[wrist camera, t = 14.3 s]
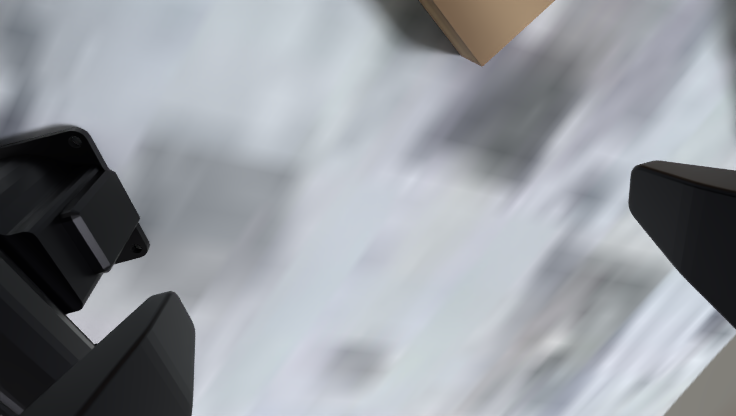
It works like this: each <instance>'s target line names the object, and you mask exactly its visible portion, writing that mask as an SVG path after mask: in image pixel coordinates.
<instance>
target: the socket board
mask: <svg viewBox="0 0 736 416" xmlns="http://www.w3.org/2000/svg"><path fill="white" fill-rule="evenodd" d="M419 1H420V3H421V4H422V5H423V6H424V8H425V9H426V10H427V12H428V13H429V14H430V16H431V17H432V18H433V20H434V21H435V22H436V24H437V25H438V26H439V27H440V29H441V30H442V31H443V33H444V34H445V35H446V37H447V38H448V39H449V41H450V42H451V43H452V45H453V46H454V47H455V48H456V50H457V51H458V52H459V54H460V55H461V56H462V57H464V58H466V59H468V60H470V61H472V62H474V63H476V64H478V65H480V66H484V65H485V64H486V63H487V62H488V61H489V60H490V59H491V58H492V57H493V56H495V55H496V54H497V53H498V52H499V51H500V50H501V49H502V48H503V47H504V46H505V45H507V44H508V43H509V42H510V41H511V40H512V39H513V38H514V37H515V36H516V35H518V34H519V33H520V32H521V31H522V30H523V29H524V28H525V27H526V26H527V25H529V24H530V23H531V22H532V21H533V20H534V19H535V18H536V17H537V16H538V15H540V14H541V13H542V12H543V11H544V10H545V9H546V8H547V7H548V6H549V5H551V4H552V3H553V2H554V1H555V0H419Z"/></svg>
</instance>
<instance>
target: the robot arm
mask: <svg viewBox="0 0 736 416" xmlns="http://www.w3.org/2000/svg"><path fill="white" fill-rule="evenodd" d="M72 136H76V137H78V138H79V139H80V140H81V141H82V145H78V144H76V143H75V142H74V141H73V139H72ZM629 209H630V211H631V213H632V215H633V216H634V218H635V219H636V220H637V221H638V223H639V224H640V225H641V226H642V228H643V229H644V230H645V231H646V233H647V234H648V235H649V236H650V237H651V239H652V240H653V241H654V242H655V244H656V245H657V246H658V247H659V249H660V250H661V251H662V252H663V253H664V255H665V256H666V257H667V258H668V260H669V261H670V262H671V263H672V264H673V266H674V267H675V268H676V269H677V270H678V271H679V273H680V274H681V275H682V276H683V277H684V278H685V279H686V280H687V281H688V282H689V283H690V284H691V285H692V286H693V287H694V288H695V289H696V290H697V291H698V292H699V293H700V294H701V295H702V296H703V297H704V298H705V299H706V300H707V301H708V302H709V303H710V304H711V305H712V306H713V307H714V308H715V309H716V310H717V311H718V312H719V313H720V314H721V315H722V316H723V317H724V318H725V319H726V320H727V321H728V322H729V323H730V324H731V325H732V326H733V327H734V328H735V329H736V171H735V170H727V169H719V168H712V167H704V166H697V165H689V164H681V163H674V162H666V161H657V160H656V161H651V162H647V163H643V164H640V165H637V166H635V167H634V168H633V170H632V172H631V179H630V190H629ZM139 219H140V217H139V215H138V213H137V211H136V209H135V208H134V206H133V204H132V202H131V200H130V198H129V197H128V195H127V193H126V191H125V189H124V187H123V186H122V184H121V182H120V180H119V178H118V176H117V175H116V173H115V172H114V171H112V170H110V169H109V168H108V167H107V165H106V163H105V161H104V159H103V157H102V156H101V154H100V152H99V150H98V148H97V147H96V145H95V143H94V141H93V139H92V137H91V136H90V135H89V133H88V132H87V131H85V130H84V129H81V128H71V129H67V130H63V131H59V132H55V133H51V134H47V135H43V136H39V137H35V138H31V139H28V140H24V141H20V142H16V143H12V144H8V145H4V146H0V416H191V415H192V406H193V387H194V359H195V328H194V324H193V322H192V320H191V318H190V316H189V314H188V313H187V311H186V309H185V307H184V305H183V304H182V302H181V300H180V298H179V297H178V295H177V294H176V293H175V292H172V291H168V292H164V293H161V294H157V295H153V296H151V297H149V298H148V299H147V300H146V301H145V302H144V303H143V304H141V305H140V306H139V307H138V308H137V309H136V310H135V311H134V312H133V313H131V314H130V315H129V316H128V317H127V318H126V319H125V320H124V321H123V322H122V323H120V324H119V325H118V326H117V327H116V328H115V329H114V330H113V331H112V332H110V333H109V334H108V335H107V336H106V337H105V338H104V339H103V340H102V341H100V342H99V343H98V344H93V343H92V341H91V340H90V339H89V338H88V337H87V336H86V335H85V334H84V333H83V332H82V331H81V330H80V329H79V328H78V327H77V326H76V325H75V324H74V323H73V322H72V321H71V320H70V319H69V318H68V317H67V316H66V315H67V314H68V313H72V312H76V311H79V310H81V309H82V308H83V306H84V304H85V303H86V301H87V299H88V298H89V296H90V294H91V293H92V291H93V289H94V288H95V286H96V284H97V283H98V281H99V279H100V278H101V276H102V274H103V273H107V272H109V271H110V270H111V268H112V267H113V265H114V264H117V263H121V262H125V261H128V260H132V259H136V258H140V257H142V256H144V255H145V254H146V253H147V252H148V249H149V246H150V244H149V241H148V239H147V237H146V235H145V234H144V232H143V230H142V228H141V226H140V225H139V223H138V222H139ZM133 244H138V245H140V246H141V247H142V248H141V249H138V248H135V247H134V246H133Z"/></svg>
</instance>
